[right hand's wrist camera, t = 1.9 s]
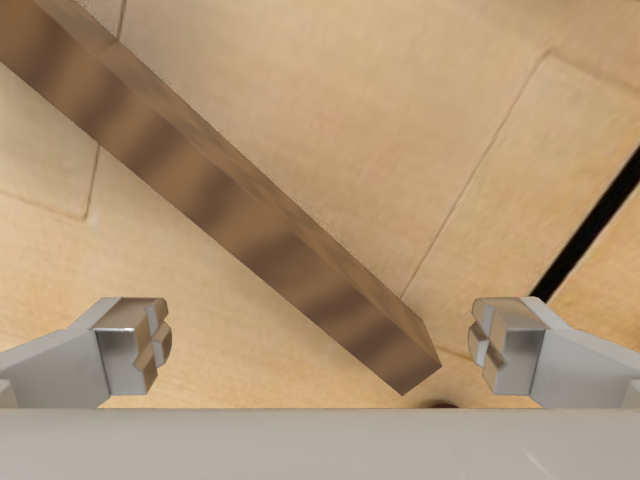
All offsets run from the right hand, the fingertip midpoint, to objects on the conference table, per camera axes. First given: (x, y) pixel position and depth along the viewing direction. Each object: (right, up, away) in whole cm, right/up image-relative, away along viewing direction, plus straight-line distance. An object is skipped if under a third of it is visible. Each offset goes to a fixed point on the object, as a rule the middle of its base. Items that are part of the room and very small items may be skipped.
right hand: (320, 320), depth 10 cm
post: (-12, +11, +28) cm, 32 cm away
